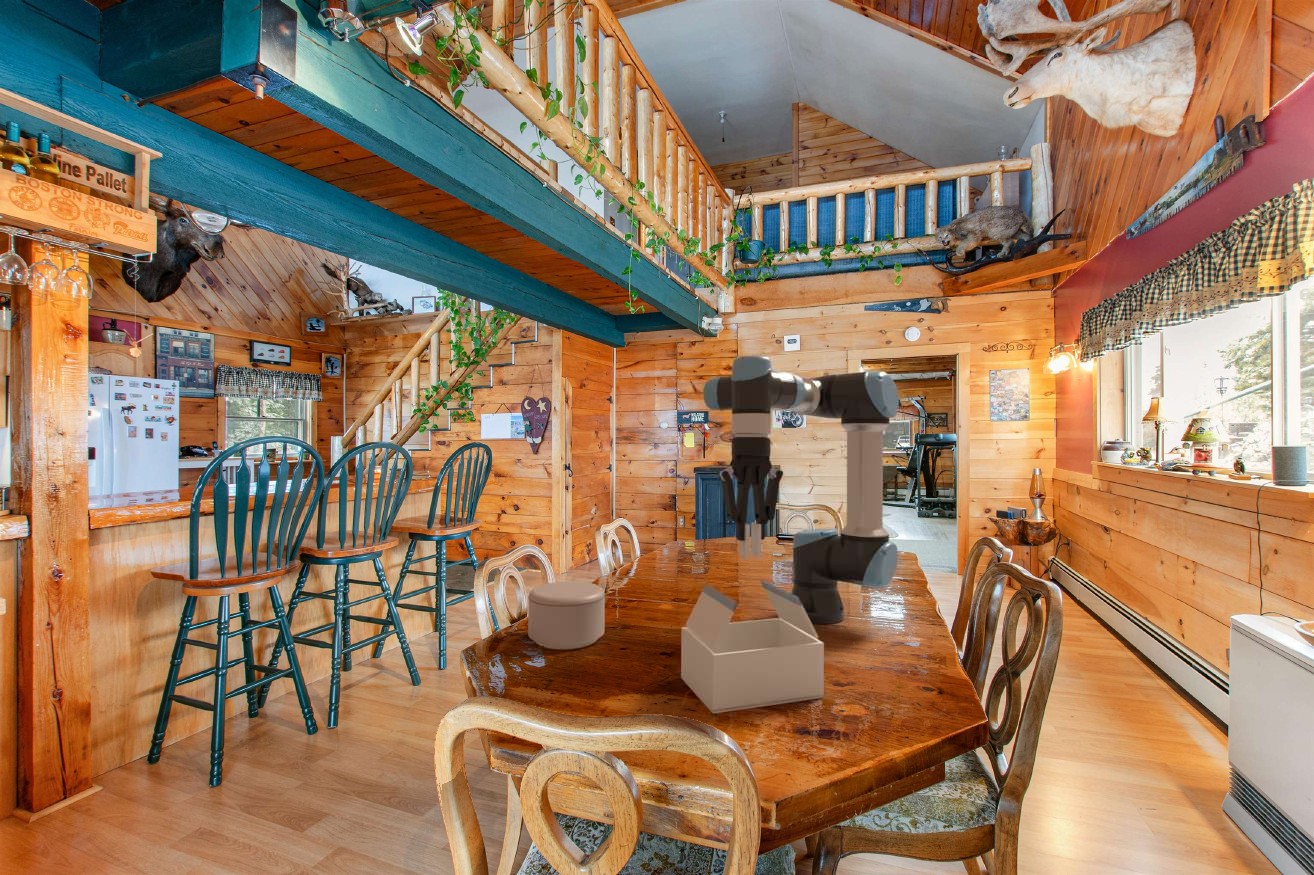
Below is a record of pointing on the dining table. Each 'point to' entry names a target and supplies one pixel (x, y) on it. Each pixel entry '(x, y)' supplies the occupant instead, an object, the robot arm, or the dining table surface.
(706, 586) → the flap
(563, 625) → the container
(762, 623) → the carton
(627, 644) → the dining table surface
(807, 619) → the flap
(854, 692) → the dining table surface
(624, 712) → the dining table surface
